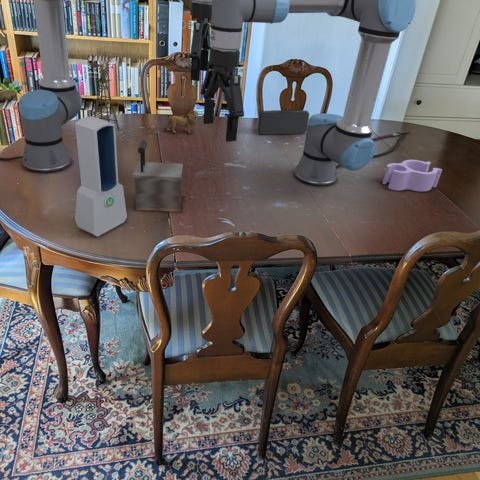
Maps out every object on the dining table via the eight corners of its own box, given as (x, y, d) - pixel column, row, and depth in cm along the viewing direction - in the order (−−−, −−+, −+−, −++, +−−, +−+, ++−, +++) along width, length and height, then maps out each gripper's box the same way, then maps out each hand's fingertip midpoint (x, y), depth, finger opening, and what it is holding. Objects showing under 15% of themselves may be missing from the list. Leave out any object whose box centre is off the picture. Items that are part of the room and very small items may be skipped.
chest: (135, 209, 139) (134, 178, 134) (139, 194, 147) (138, 164, 142) (180, 211, 141) (181, 180, 135) (181, 197, 149) (182, 166, 143)
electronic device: (94, 238, 124) (84, 130, 108) (75, 229, 127) (62, 122, 111) (127, 220, 133) (123, 118, 117) (108, 212, 136) (101, 111, 120)
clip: (395, 193, 165) (400, 176, 161) (376, 178, 175) (380, 161, 171) (440, 190, 171) (447, 172, 167) (419, 175, 181) (425, 158, 177)
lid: (132, 177, 134) (131, 149, 129) (136, 164, 142) (135, 137, 137) (181, 180, 135) (182, 152, 130) (182, 166, 143) (183, 139, 138)
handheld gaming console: (303, 131, 211) (307, 109, 206) (306, 133, 209) (310, 111, 204) (256, 132, 204) (259, 110, 199) (258, 135, 202) (261, 112, 197)
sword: (405, 131, 224) (406, 128, 224) (410, 133, 222) (411, 130, 222) (362, 142, 208) (362, 140, 208) (367, 144, 206) (368, 142, 206)
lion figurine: (195, 128, 201) (196, 108, 196) (199, 133, 197) (200, 112, 192) (162, 130, 196) (162, 108, 191) (164, 134, 192) (165, 113, 187)
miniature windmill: (110, 136, 185) (105, 57, 169) (90, 133, 186) (84, 54, 170) (120, 129, 193) (116, 52, 177) (100, 125, 194) (95, 49, 178)
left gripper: (207, 8, 129) (203, 86, 140) (222, -1, 150) (217, 68, 161) (181, 5, 129) (179, 83, 140) (199, -4, 150) (195, 65, 161)
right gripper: (190, 38, 121) (187, 117, 133) (235, 60, 104) (228, 150, 115) (216, 38, 125) (211, 115, 136) (264, 60, 107) (254, 147, 118)
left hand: (199, 75), depth 151 cm, fingers open, 13 cm apart
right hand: (219, 131), depth 126 cm, fingers open, 13 cm apart
